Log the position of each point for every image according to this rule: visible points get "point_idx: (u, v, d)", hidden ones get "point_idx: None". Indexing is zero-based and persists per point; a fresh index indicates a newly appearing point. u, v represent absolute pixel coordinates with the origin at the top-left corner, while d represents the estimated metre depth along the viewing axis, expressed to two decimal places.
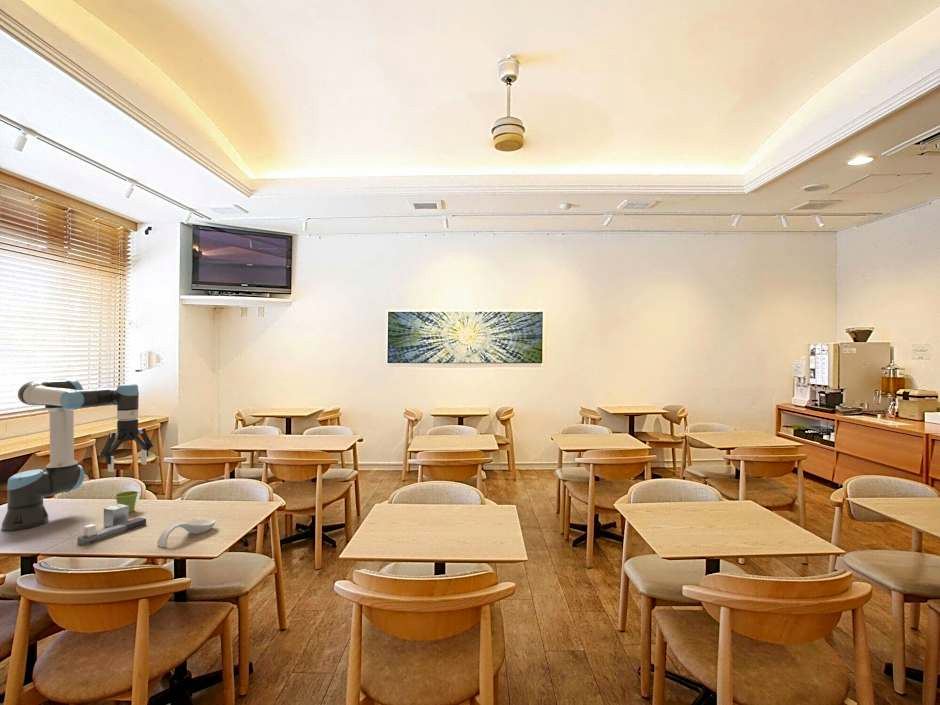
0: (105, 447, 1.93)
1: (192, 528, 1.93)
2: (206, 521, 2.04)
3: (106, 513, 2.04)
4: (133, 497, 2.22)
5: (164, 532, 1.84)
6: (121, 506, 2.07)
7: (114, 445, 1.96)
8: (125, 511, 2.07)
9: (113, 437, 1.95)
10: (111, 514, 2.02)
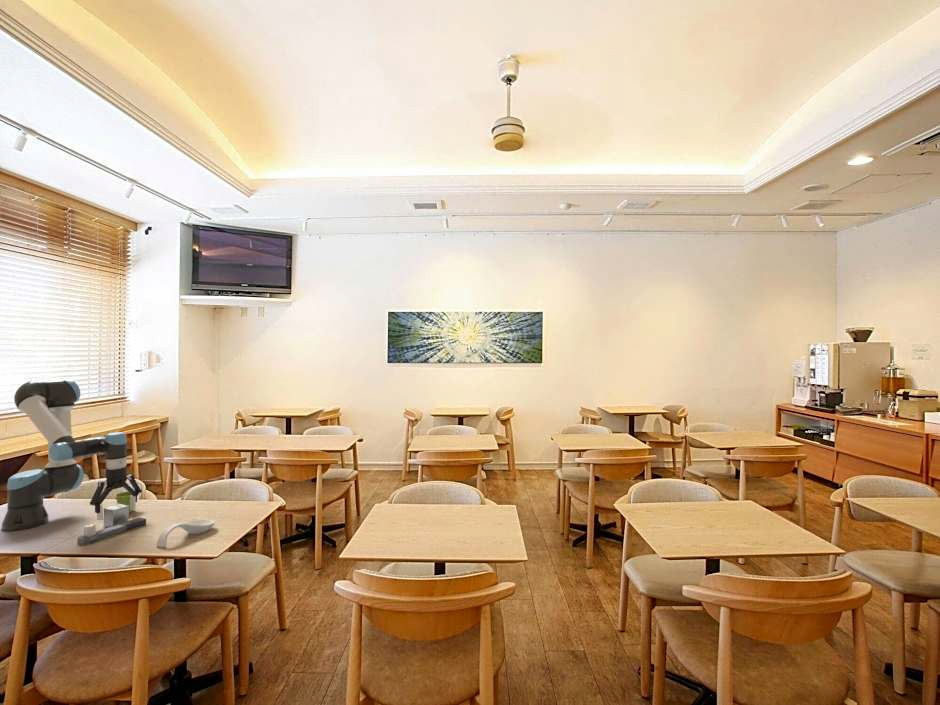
0: (94, 496, 1.98)
1: (192, 528, 1.92)
2: (205, 521, 2.04)
3: (106, 513, 2.04)
4: None
5: (163, 532, 1.84)
6: (121, 506, 2.07)
7: (103, 494, 2.01)
8: (125, 511, 2.07)
9: (102, 486, 2.00)
10: (111, 514, 2.02)
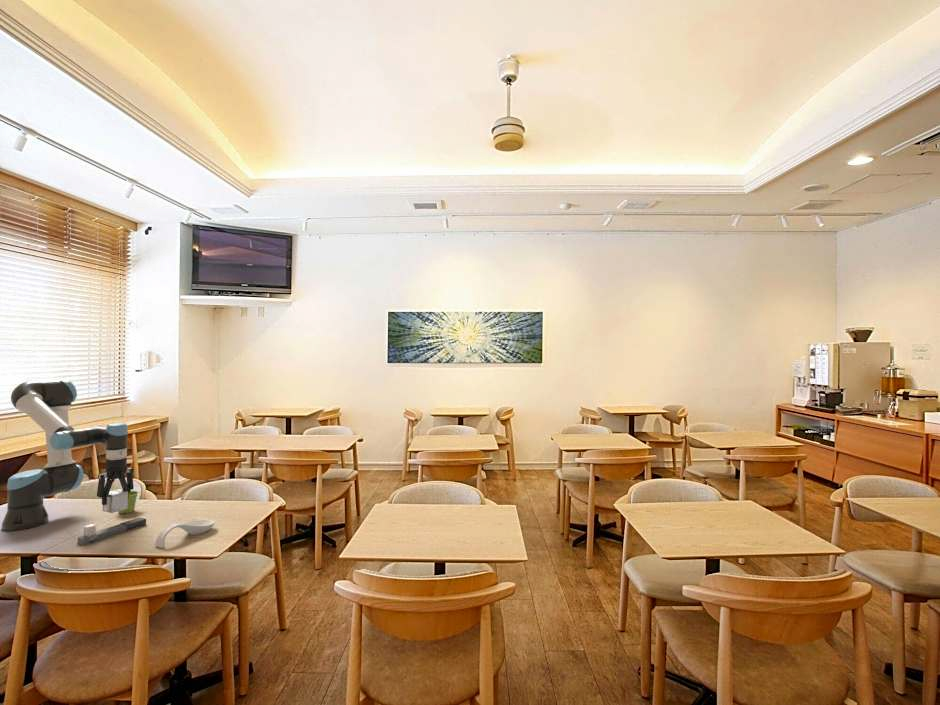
0: (99, 489, 2.00)
1: (191, 529, 1.92)
2: (206, 521, 2.03)
3: None
4: (133, 497, 2.22)
5: (162, 532, 1.84)
6: (120, 491, 2.07)
7: (106, 486, 2.03)
8: (125, 496, 2.07)
9: (103, 479, 2.00)
10: (110, 499, 2.03)
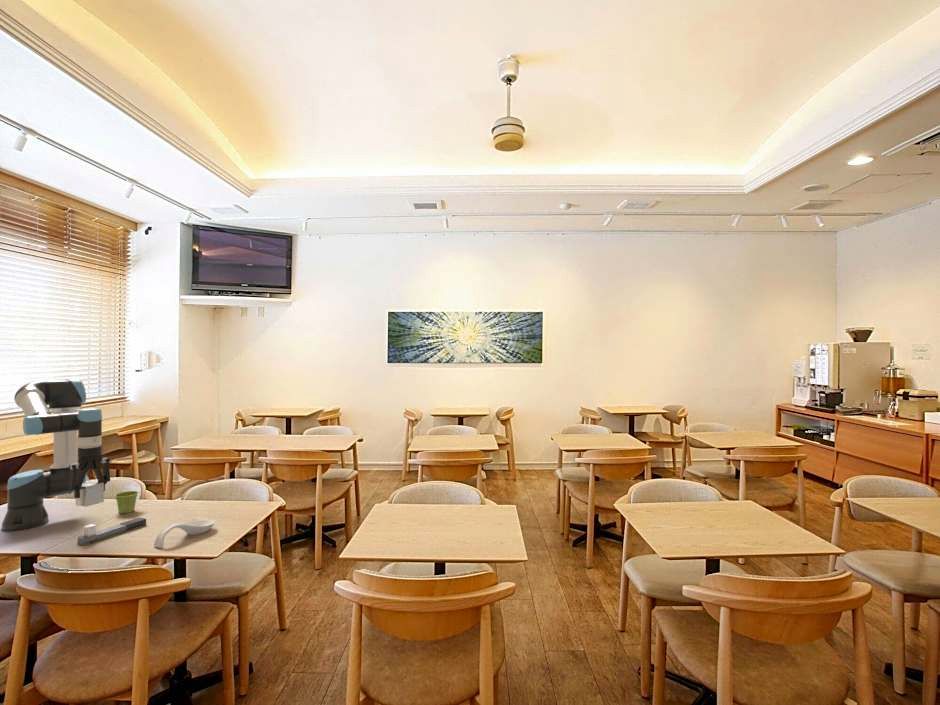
0: (70, 480, 1.81)
1: (190, 529, 1.92)
2: (205, 522, 2.03)
3: None
4: (133, 497, 2.22)
5: (161, 532, 1.84)
6: (95, 483, 1.88)
7: (79, 477, 1.84)
8: (100, 488, 1.88)
9: (74, 469, 1.82)
10: (84, 491, 1.84)
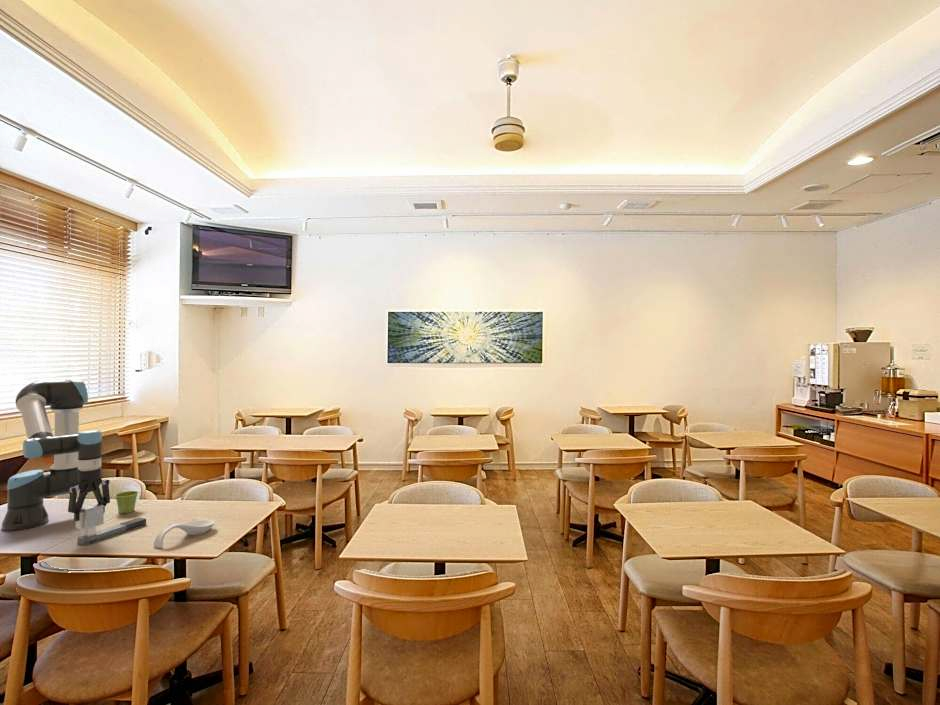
0: (70, 504, 1.81)
1: (190, 529, 1.91)
2: (205, 522, 2.03)
3: None
4: (133, 497, 2.22)
5: (160, 533, 1.84)
6: (95, 505, 1.88)
7: (79, 500, 1.84)
8: (100, 511, 1.88)
9: (74, 492, 1.82)
10: (83, 514, 1.84)
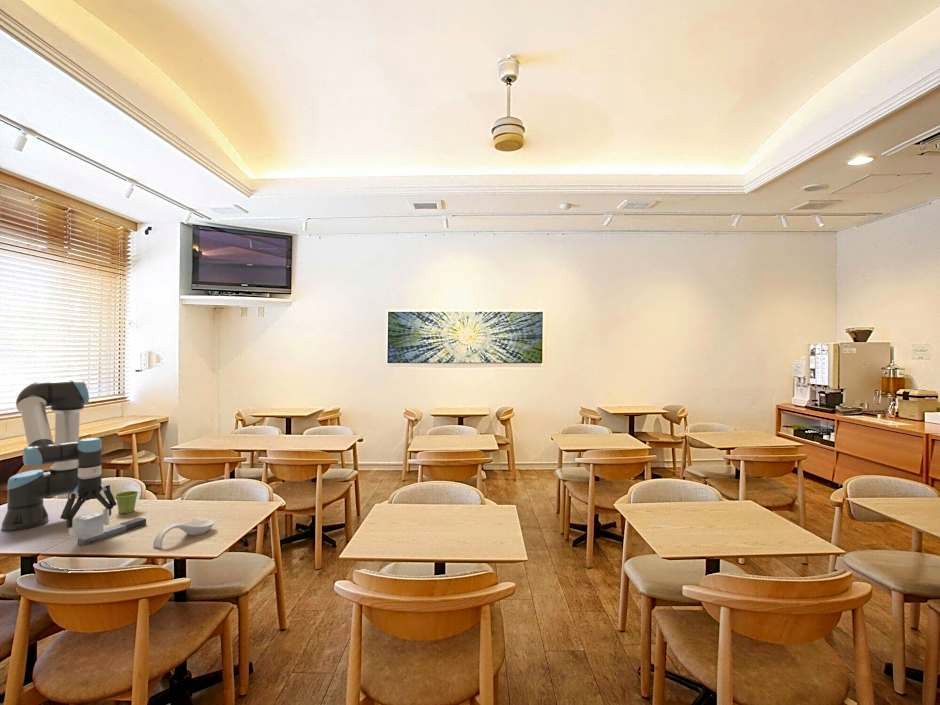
0: (65, 510, 1.80)
1: (189, 529, 1.91)
2: (205, 522, 2.03)
3: (78, 523, 1.85)
4: (133, 497, 2.22)
5: (160, 533, 1.84)
6: (95, 515, 1.88)
7: (75, 506, 1.83)
8: (100, 520, 1.88)
9: (73, 498, 1.81)
10: (83, 524, 1.84)
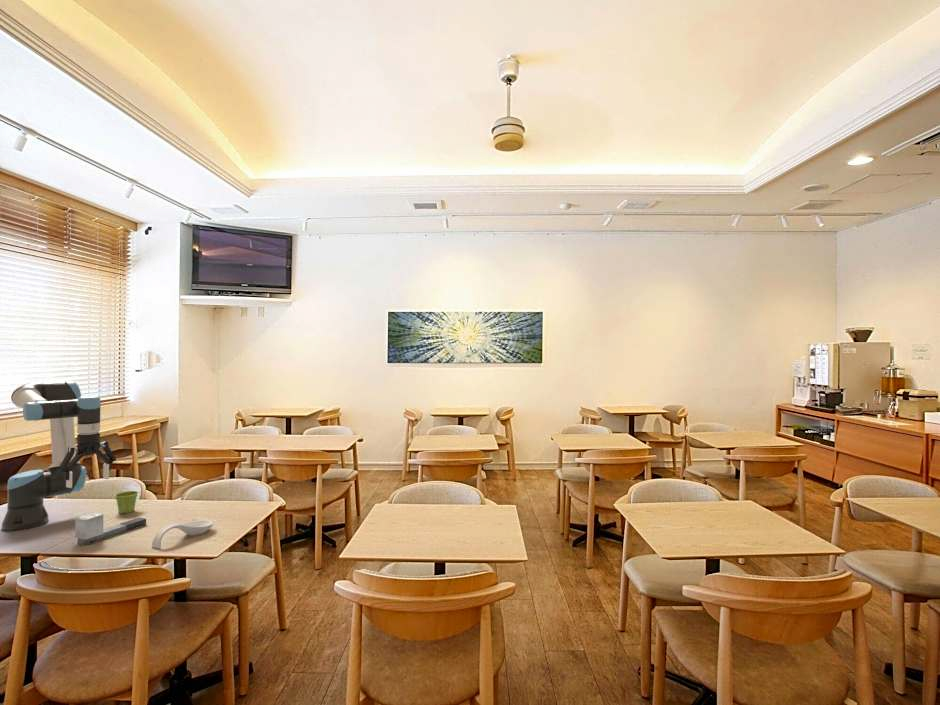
0: (63, 462, 1.86)
1: (188, 530, 1.91)
2: (205, 522, 2.02)
3: (78, 523, 1.85)
4: (133, 497, 2.22)
5: (159, 533, 1.83)
6: (95, 515, 1.88)
7: (73, 460, 1.89)
8: (100, 520, 1.88)
9: (72, 452, 1.88)
10: (83, 524, 1.84)
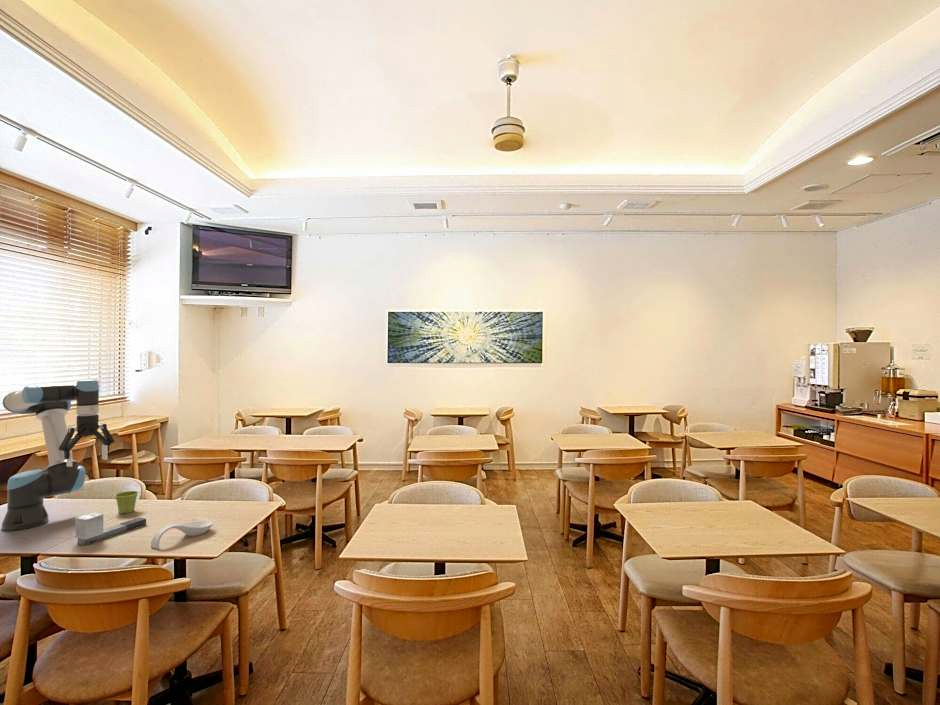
0: (63, 442, 1.95)
1: (187, 530, 1.91)
2: (205, 523, 2.02)
3: (78, 523, 1.85)
4: (133, 497, 2.22)
5: (157, 533, 1.83)
6: (95, 515, 1.88)
7: (73, 440, 1.98)
8: (100, 520, 1.88)
9: (72, 432, 1.96)
10: (83, 524, 1.84)
